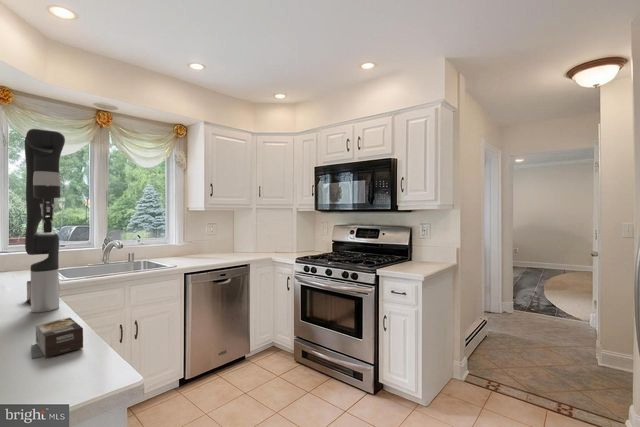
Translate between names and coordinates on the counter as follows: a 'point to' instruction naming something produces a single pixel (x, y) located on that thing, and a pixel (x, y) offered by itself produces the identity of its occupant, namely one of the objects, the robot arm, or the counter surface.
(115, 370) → the counter surface
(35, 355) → the mat
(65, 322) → the coffee box
